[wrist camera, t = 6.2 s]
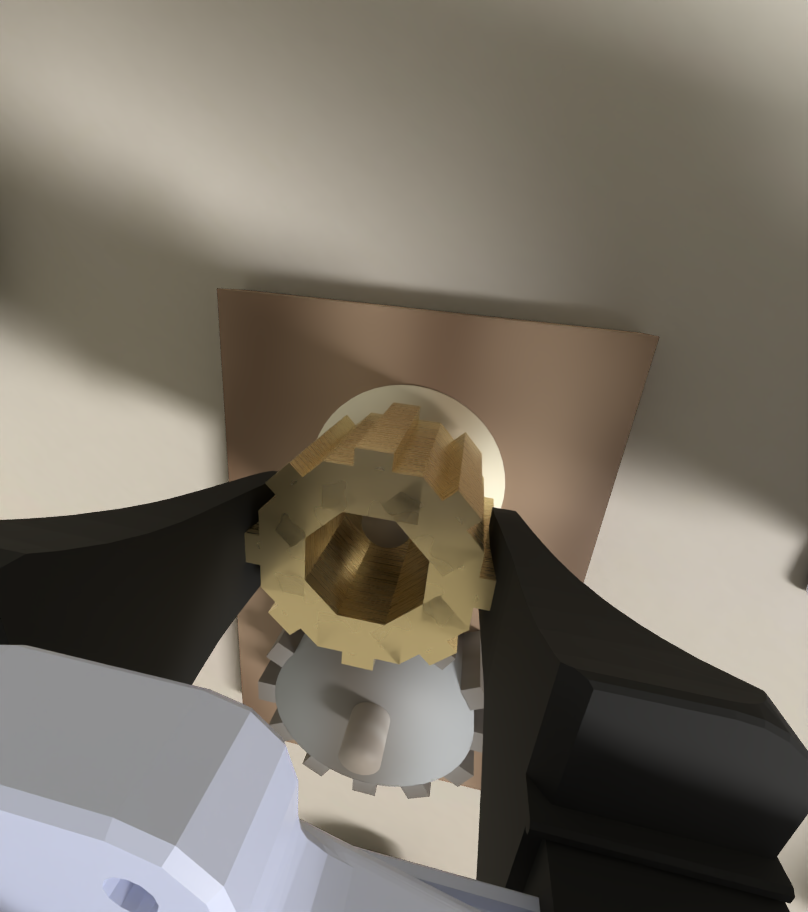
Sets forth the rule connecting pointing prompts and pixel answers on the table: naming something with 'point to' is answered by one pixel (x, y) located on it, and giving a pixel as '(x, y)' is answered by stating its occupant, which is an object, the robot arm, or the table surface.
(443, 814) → the table surface
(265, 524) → the wooden gear
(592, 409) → the gear board
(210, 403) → the table surface
